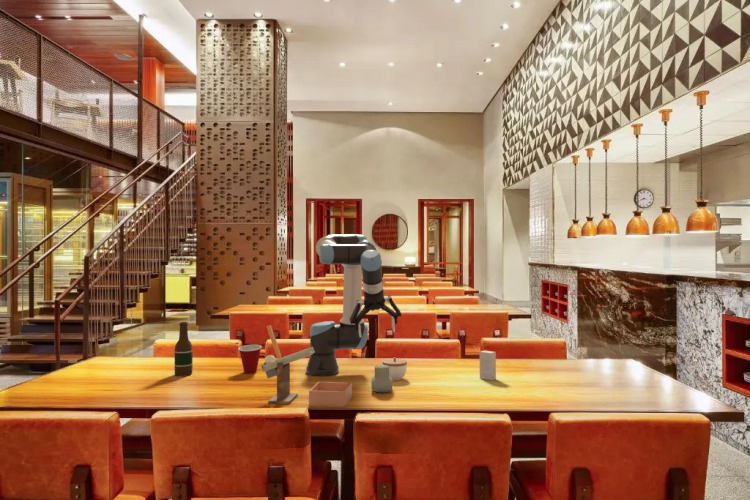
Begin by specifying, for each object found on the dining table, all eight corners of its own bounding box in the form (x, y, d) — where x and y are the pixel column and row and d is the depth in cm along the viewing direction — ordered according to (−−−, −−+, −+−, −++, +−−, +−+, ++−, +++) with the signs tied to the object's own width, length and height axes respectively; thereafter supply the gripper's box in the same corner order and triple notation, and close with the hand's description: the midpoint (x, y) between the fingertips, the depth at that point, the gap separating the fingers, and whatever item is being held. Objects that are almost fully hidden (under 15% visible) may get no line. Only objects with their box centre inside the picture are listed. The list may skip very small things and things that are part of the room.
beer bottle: (196, 373, 236) (196, 321, 236) (184, 377, 228) (184, 323, 229) (182, 372, 238) (182, 320, 239) (170, 375, 231) (170, 323, 231)
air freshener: (372, 387, 210) (372, 363, 210) (392, 387, 210) (392, 363, 210) (371, 394, 199) (371, 369, 199) (392, 394, 199) (392, 369, 199)
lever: (265, 380, 190) (248, 333, 191) (274, 373, 200) (258, 329, 201) (312, 363, 187) (296, 316, 188) (319, 357, 197) (303, 312, 198)
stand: (268, 403, 188) (268, 362, 188) (277, 395, 198) (277, 356, 199) (289, 404, 186) (289, 363, 187) (297, 396, 197) (297, 357, 198)
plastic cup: (233, 373, 235) (233, 347, 235) (247, 368, 245) (247, 343, 245) (252, 375, 231) (252, 349, 231) (266, 370, 241) (266, 345, 241)
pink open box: (308, 406, 184) (308, 390, 184) (317, 395, 198) (317, 381, 198) (345, 407, 182) (345, 392, 182) (351, 397, 196) (351, 382, 196)
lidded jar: (405, 382, 218) (404, 360, 218) (380, 381, 221) (380, 359, 221) (408, 376, 229) (408, 355, 229) (385, 375, 231) (385, 354, 231)
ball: (262, 365, 193) (262, 354, 193) (270, 363, 196) (271, 353, 196) (268, 367, 190) (269, 356, 190) (277, 366, 193) (277, 355, 193)
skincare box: (496, 379, 224) (496, 351, 224) (491, 380, 221) (491, 353, 221) (484, 376, 228) (484, 350, 228) (479, 378, 225) (479, 351, 225)
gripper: (341, 299, 188) (347, 343, 198) (407, 289, 190) (409, 333, 201) (339, 288, 194) (345, 331, 205) (403, 278, 197) (405, 322, 208)
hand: (376, 332), depth 203 cm, fingers open, 13 cm apart
